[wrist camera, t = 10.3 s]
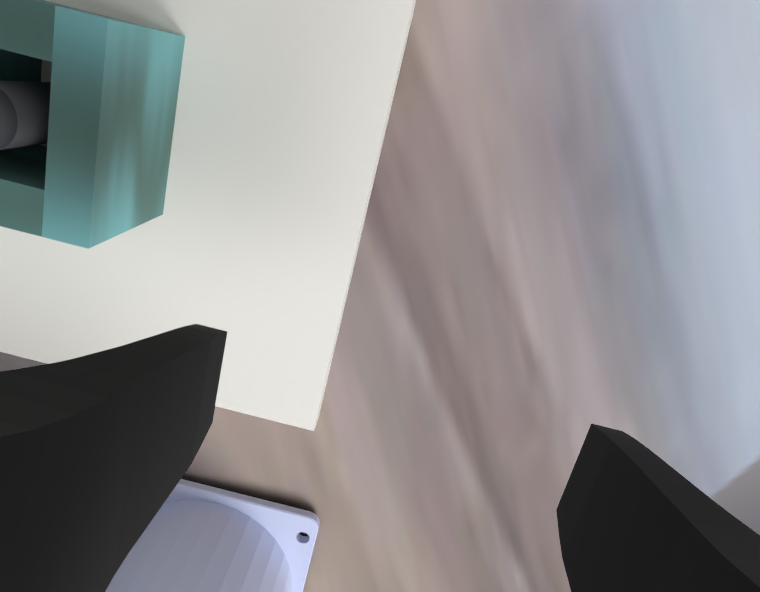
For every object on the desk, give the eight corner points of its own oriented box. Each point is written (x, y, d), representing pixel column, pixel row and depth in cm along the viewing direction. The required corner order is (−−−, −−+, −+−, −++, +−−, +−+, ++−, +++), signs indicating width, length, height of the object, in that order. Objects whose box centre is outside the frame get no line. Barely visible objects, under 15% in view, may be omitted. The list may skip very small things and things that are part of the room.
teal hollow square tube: (162, 214, 20) (88, 248, 15) (-1, 172, 20) (-122, 194, 15) (185, 36, 18) (107, 19, 14) (4, -10, 18) (-129, -42, 14)
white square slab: (318, 416, 23) (278, 533, 17) (-155, 297, 23) (-365, 371, 17) (450, -145, 17) (460, -276, 11) (-190, -307, 17) (-535, -529, 11)
